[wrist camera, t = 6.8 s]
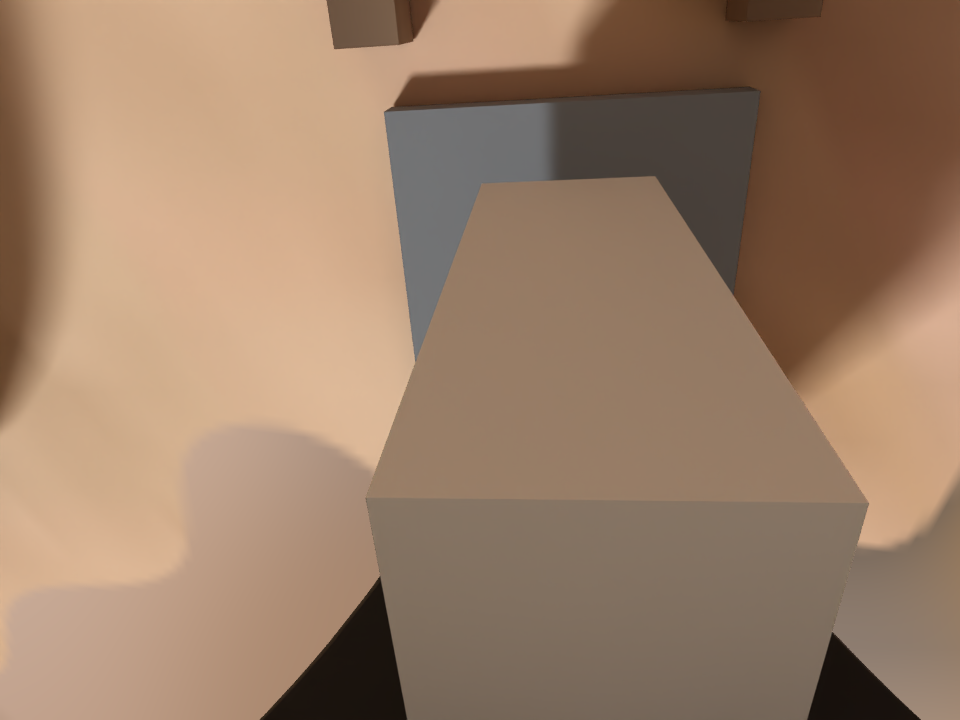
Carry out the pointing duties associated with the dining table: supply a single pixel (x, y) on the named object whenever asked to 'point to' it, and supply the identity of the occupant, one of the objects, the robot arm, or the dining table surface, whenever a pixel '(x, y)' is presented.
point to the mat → (566, 166)
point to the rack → (387, 21)
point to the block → (604, 480)
